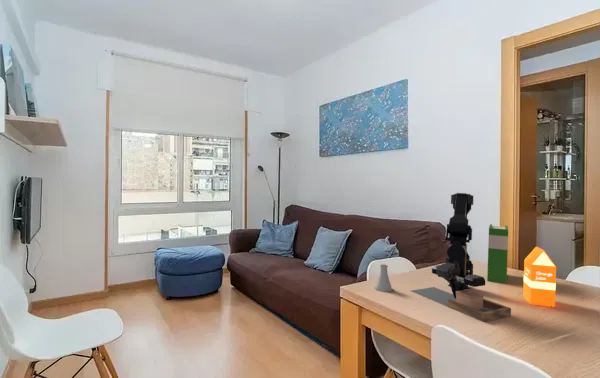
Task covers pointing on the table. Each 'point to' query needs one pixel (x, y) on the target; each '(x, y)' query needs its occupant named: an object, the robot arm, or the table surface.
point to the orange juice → (539, 279)
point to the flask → (383, 280)
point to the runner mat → (439, 296)
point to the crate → (470, 298)
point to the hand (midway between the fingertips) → (456, 298)
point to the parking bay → (495, 312)
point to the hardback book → (497, 254)
